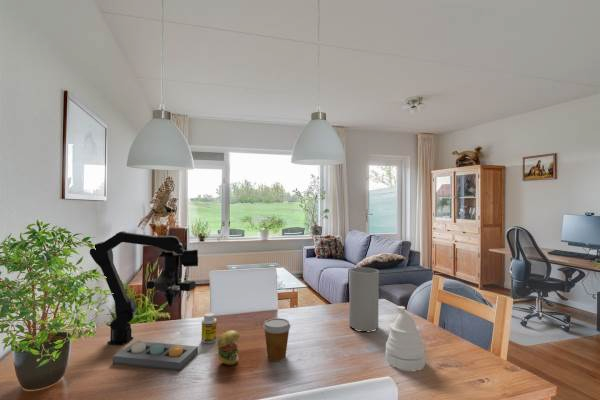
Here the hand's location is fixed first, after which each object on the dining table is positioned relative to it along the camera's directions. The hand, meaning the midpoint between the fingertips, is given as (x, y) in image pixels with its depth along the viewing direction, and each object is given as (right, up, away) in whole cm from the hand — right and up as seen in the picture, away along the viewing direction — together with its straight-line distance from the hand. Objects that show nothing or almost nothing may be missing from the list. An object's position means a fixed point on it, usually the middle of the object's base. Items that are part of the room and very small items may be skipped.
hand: (170, 306), depth 129 cm
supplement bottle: (+17, -12, -4) cm, 21 cm away
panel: (+3, -12, -19) cm, 22 cm away
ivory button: (-4, -11, -18) cm, 21 cm away
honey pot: (+88, -13, -19) cm, 91 cm away
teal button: (+3, -11, -19) cm, 22 cm away
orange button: (+10, -11, -20) cm, 25 cm away
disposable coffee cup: (+44, -12, -17) cm, 48 cm away
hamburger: (+28, -12, -21) cm, 37 cm away
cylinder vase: (+80, -13, +12) cm, 82 cm away
